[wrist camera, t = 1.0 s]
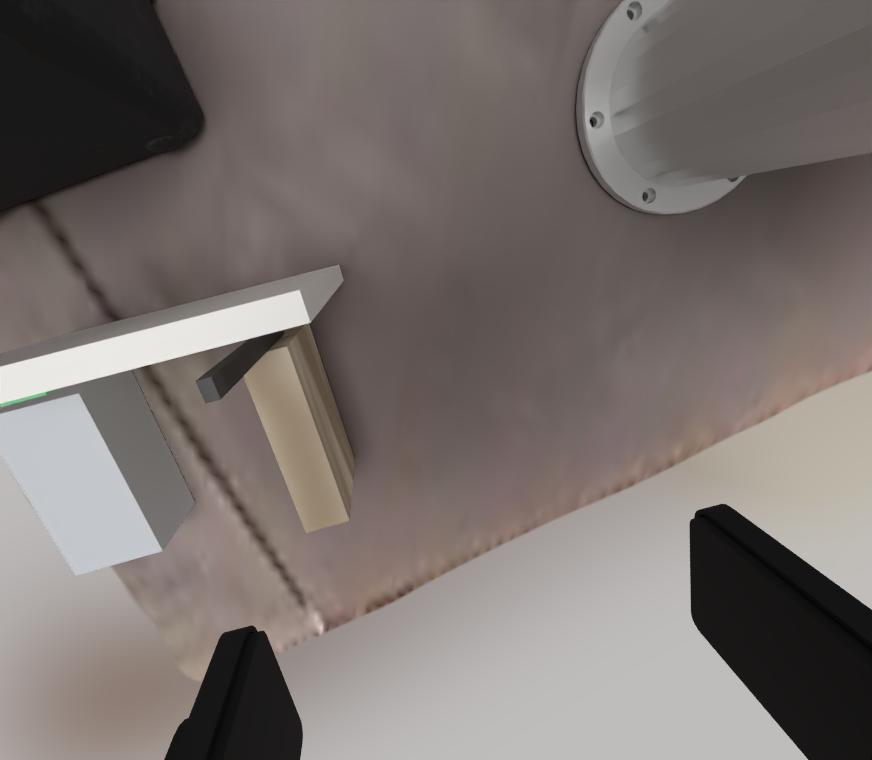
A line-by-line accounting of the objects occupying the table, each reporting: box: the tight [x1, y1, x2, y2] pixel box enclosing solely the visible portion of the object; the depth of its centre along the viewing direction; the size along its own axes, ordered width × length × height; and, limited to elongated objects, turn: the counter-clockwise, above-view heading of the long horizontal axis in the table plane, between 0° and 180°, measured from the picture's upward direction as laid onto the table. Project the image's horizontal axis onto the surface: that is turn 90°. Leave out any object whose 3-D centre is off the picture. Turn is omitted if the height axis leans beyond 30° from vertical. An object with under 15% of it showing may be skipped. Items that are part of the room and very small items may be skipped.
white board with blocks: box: [0, 265, 344, 575], centre depth 22 cm, size 19×13×15 cm
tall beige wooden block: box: [196, 323, 355, 533], centre depth 23 cm, size 2×11×14 cm, turn 13°
